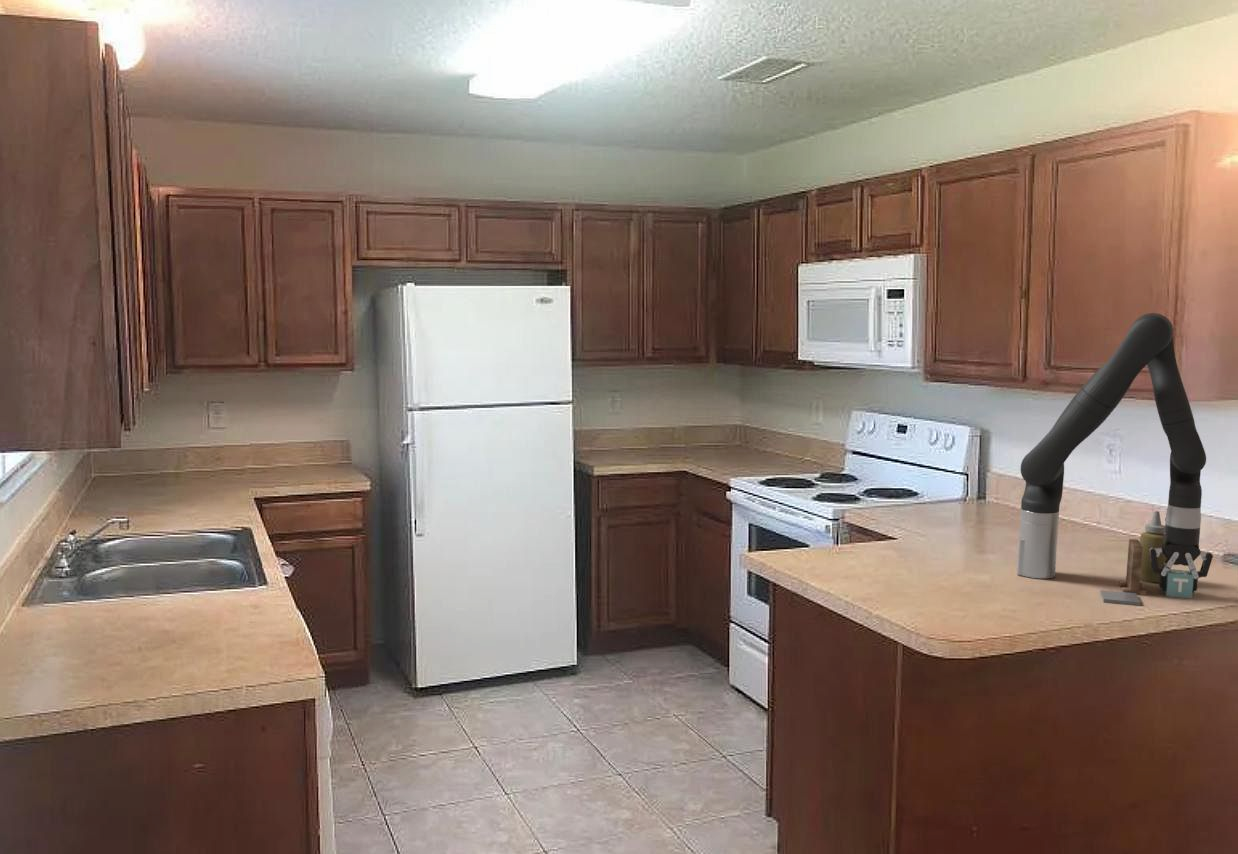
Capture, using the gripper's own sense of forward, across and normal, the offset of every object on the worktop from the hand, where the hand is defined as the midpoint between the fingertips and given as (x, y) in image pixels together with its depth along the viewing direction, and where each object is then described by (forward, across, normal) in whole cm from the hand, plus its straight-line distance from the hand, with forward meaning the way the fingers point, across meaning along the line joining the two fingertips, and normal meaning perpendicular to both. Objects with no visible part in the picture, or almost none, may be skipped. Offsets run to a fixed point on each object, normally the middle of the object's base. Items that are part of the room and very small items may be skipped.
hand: (1177, 591), depth 255 cm
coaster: (+1, -14, -10) cm, 17 cm away
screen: (+1, -10, 0) cm, 10 cm away
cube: (+1, 0, 0) cm, 1 cm away
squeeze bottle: (+1, -4, +12) cm, 13 cm away
